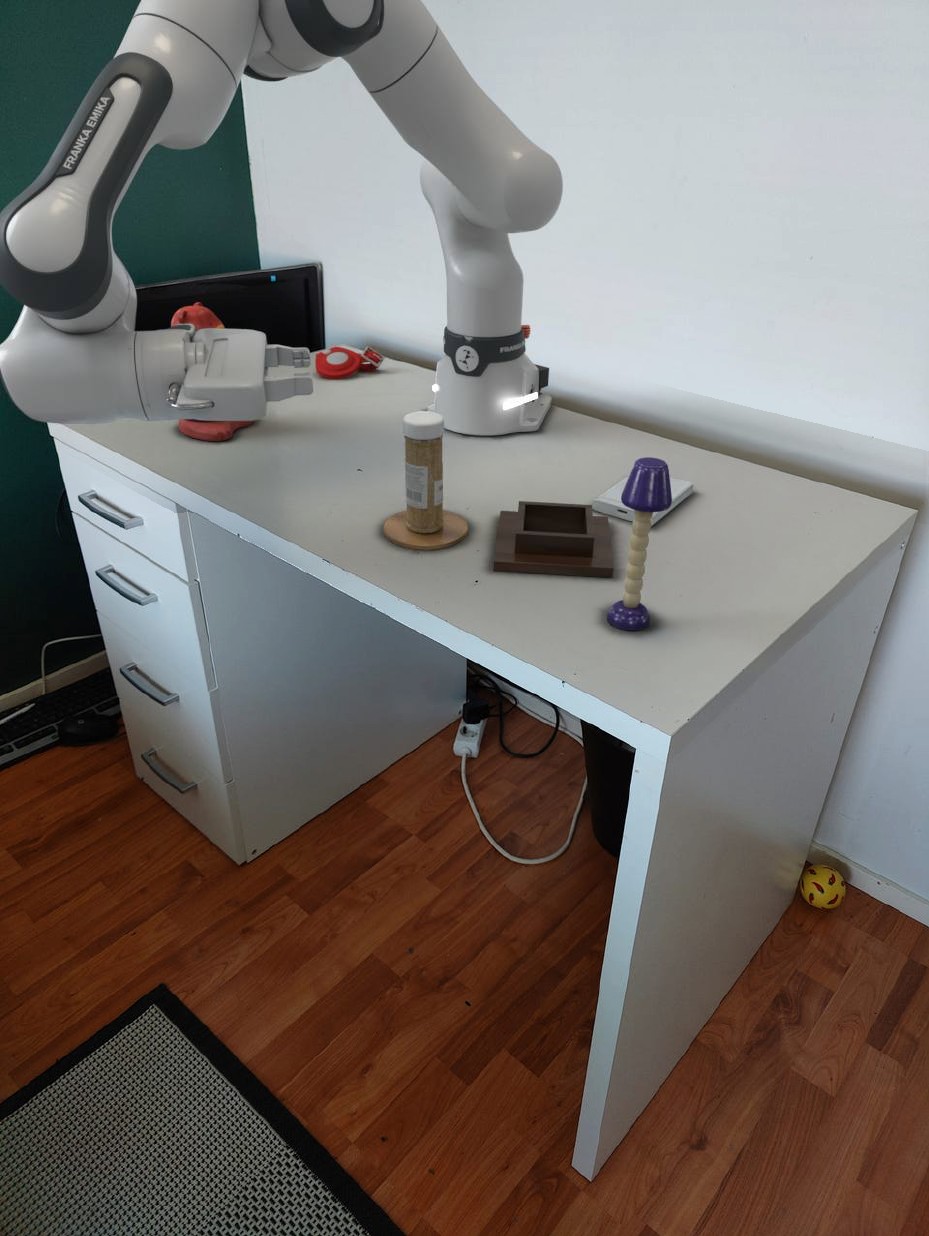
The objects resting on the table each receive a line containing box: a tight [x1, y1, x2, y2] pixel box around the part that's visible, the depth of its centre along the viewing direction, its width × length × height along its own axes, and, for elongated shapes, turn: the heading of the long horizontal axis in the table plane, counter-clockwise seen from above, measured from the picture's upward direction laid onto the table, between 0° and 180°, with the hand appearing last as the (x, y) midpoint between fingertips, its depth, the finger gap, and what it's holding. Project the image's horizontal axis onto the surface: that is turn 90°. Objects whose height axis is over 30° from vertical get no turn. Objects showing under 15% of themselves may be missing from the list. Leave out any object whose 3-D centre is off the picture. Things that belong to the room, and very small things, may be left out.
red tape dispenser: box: [314, 345, 386, 380], centre depth 156 cm, size 12×4×10 cm
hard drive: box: [592, 475, 694, 527], centre depth 110 cm, size 2×8×12 cm
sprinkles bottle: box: [402, 410, 445, 534], centre depth 99 cm, size 5×5×14 cm
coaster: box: [383, 509, 469, 551], centre depth 102 cm, size 10×10×1 cm
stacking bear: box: [170, 301, 255, 442], centre depth 126 cm, size 11×10×18 cm
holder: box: [492, 500, 614, 578], centre depth 99 cm, size 13×13×4 cm
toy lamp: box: [606, 456, 672, 631], centre depth 82 cm, size 5×5×17 cm
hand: (311, 369), depth 90 cm, fingers open, 8 cm apart
